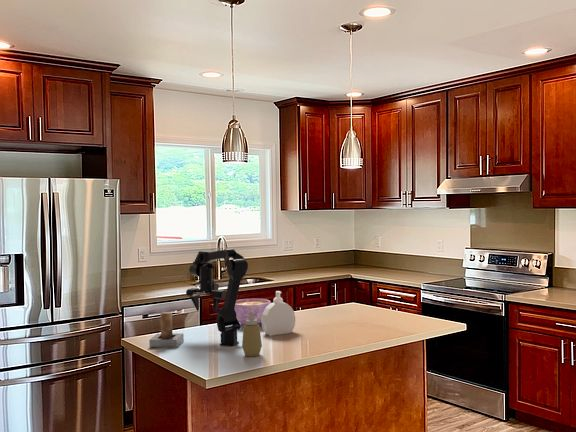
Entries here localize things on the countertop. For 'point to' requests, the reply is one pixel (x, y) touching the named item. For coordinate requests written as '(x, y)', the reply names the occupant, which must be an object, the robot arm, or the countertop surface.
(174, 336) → the socket block
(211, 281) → the robot arm
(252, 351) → the squeeze bottle
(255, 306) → the bowl of food
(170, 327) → the walnut peg
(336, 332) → the countertop surface
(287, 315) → the soap bottle
